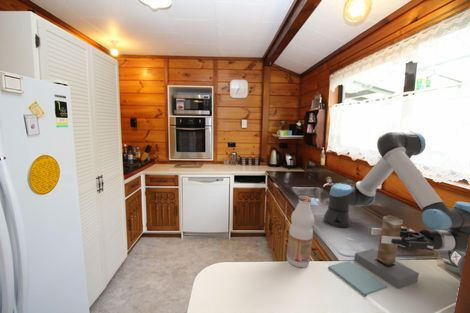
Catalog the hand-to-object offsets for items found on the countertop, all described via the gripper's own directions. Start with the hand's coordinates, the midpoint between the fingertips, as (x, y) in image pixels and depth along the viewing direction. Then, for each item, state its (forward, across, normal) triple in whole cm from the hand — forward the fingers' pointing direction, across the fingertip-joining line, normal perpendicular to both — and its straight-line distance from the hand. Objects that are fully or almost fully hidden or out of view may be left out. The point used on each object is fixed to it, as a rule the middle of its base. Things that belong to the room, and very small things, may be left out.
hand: (377, 235), depth 90 cm
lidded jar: (-30, +25, -16) cm, 42 cm away
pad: (+9, -6, -15) cm, 19 cm away
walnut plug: (-5, 0, -10) cm, 12 cm away
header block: (-5, 0, -15) cm, 16 cm away
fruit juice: (+29, +3, -16) cm, 33 cm away
